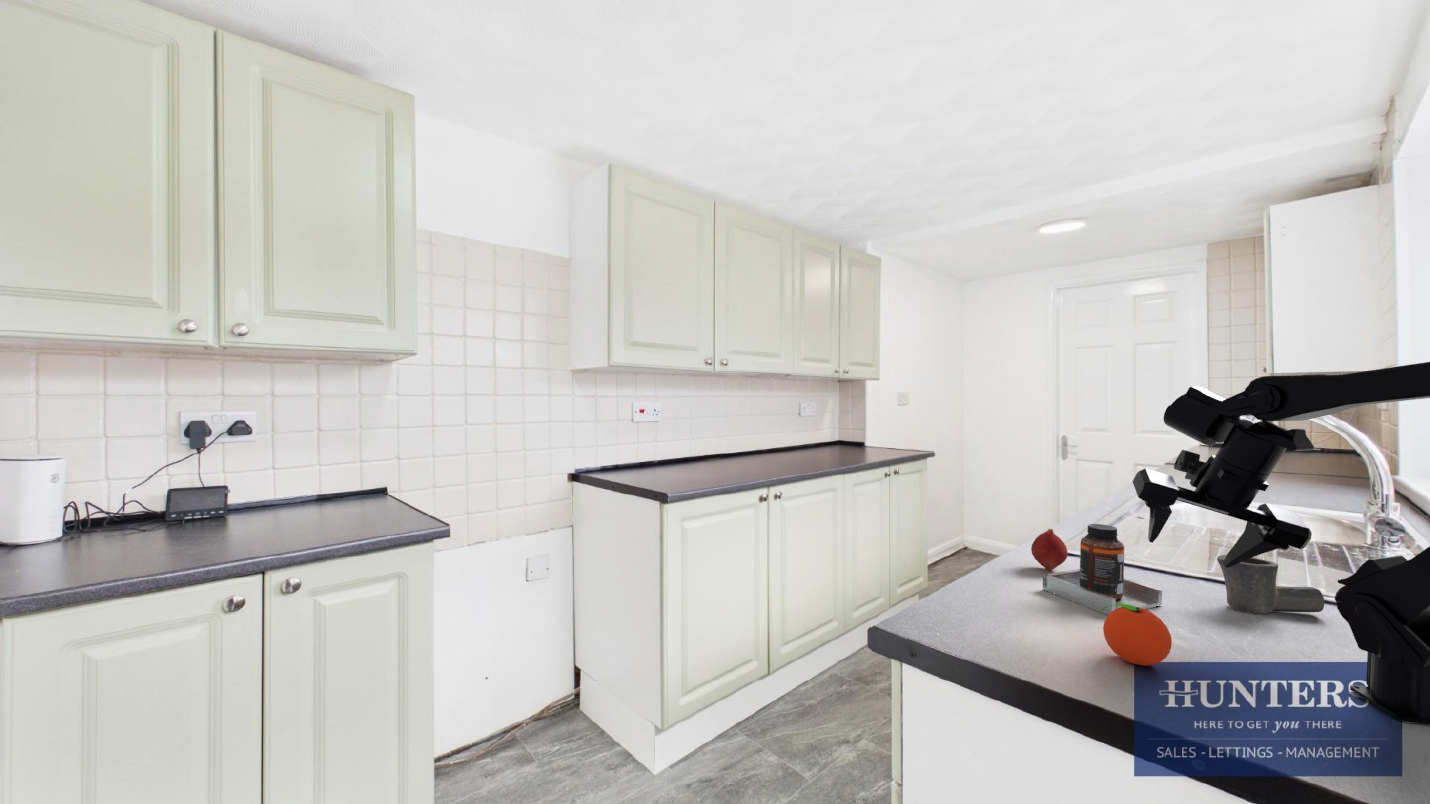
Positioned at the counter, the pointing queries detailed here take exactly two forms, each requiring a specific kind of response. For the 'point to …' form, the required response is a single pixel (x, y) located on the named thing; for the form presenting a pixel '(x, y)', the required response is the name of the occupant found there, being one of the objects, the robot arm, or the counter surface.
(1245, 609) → the pipe
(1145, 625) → the clementine
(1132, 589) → the aluminium tray
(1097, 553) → the supplement bottle
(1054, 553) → the onion
